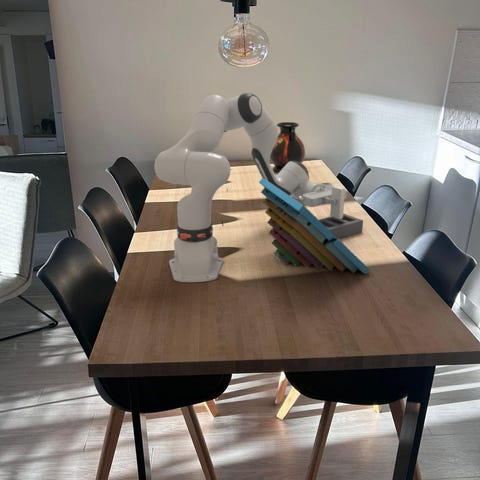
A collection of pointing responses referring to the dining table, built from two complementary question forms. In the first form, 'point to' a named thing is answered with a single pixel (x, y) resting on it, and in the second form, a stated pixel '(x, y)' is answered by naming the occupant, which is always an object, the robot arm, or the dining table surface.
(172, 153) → the robot arm
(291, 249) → the stacked coloured sheets
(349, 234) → the stand
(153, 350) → the dining table surface
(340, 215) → the white rectangular block
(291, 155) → the black and orange vase
